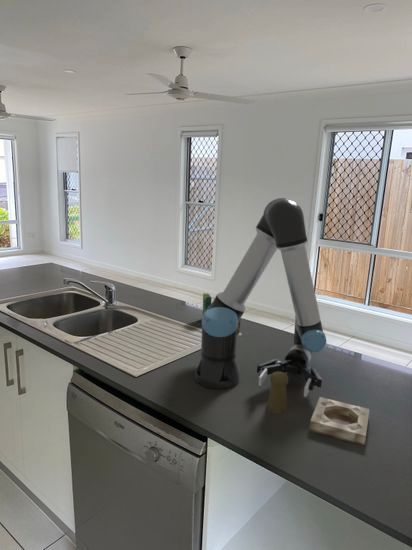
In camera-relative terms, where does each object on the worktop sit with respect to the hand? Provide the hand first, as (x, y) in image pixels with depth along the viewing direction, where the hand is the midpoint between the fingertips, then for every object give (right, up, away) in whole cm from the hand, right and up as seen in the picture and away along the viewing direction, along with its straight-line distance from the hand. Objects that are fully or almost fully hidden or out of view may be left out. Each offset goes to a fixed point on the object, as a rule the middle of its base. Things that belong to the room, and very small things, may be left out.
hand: (282, 386), depth 117 cm
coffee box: (-22, +11, +74) cm, 78 cm away
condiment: (-11, +7, +60) cm, 62 cm away
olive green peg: (-1, -7, +2) cm, 7 cm away
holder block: (+15, -9, -6) cm, 18 cm away
